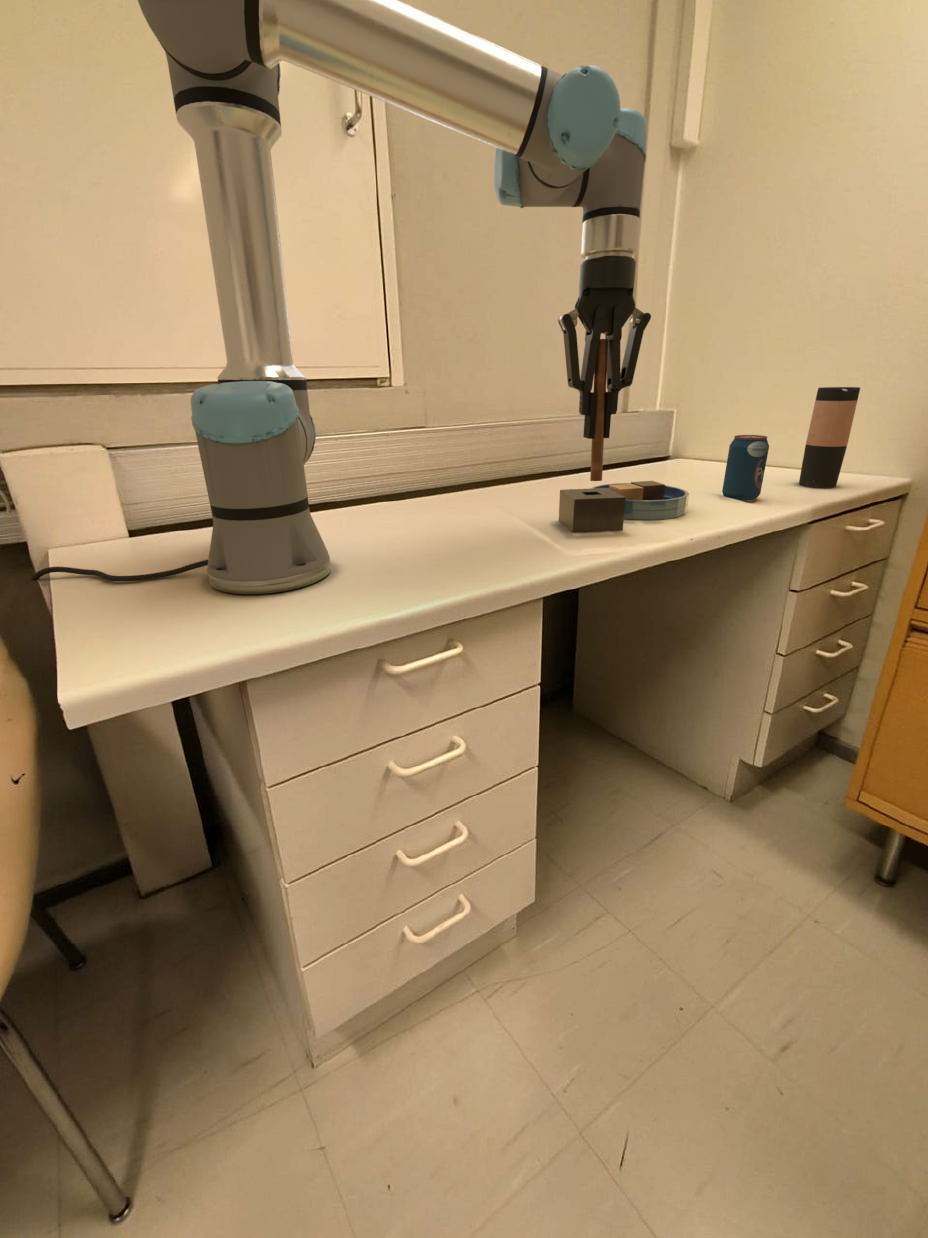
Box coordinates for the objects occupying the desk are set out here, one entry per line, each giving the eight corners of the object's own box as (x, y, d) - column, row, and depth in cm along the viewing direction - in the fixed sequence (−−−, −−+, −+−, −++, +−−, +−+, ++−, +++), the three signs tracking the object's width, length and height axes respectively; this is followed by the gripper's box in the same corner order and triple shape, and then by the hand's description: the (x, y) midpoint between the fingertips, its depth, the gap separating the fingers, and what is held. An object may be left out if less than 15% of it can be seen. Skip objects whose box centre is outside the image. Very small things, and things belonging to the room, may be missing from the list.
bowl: (606, 526, 94) (608, 502, 93) (575, 505, 110) (577, 484, 108) (703, 522, 96) (707, 498, 94) (660, 501, 112) (662, 481, 110)
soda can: (761, 503, 109) (774, 438, 104) (722, 501, 111) (733, 437, 106) (756, 496, 115) (767, 434, 110) (719, 494, 117) (729, 434, 112)
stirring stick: (591, 481, 87) (596, 339, 81) (589, 480, 89) (594, 340, 83) (602, 480, 87) (609, 338, 81) (601, 479, 89) (607, 340, 83)
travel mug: (805, 481, 129) (826, 386, 121) (842, 485, 124) (866, 386, 116) (791, 485, 125) (811, 387, 117) (829, 489, 119) (853, 387, 111)
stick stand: (572, 537, 89) (574, 499, 86) (558, 525, 96) (559, 489, 94) (622, 535, 89) (626, 497, 87) (604, 522, 97) (607, 487, 94)
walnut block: (640, 510, 101) (643, 486, 99) (628, 505, 105) (630, 482, 103) (662, 509, 102) (665, 484, 100) (649, 504, 106) (652, 480, 104)
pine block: (618, 514, 99) (620, 489, 97) (606, 509, 103) (608, 484, 101) (641, 512, 100) (643, 487, 98) (628, 507, 104) (631, 483, 102)
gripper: (648, 263, 82) (632, 433, 91) (548, 264, 80) (543, 436, 90) (671, 253, 75) (652, 438, 84) (563, 253, 73) (555, 441, 83)
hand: (596, 437), depth 87 cm, fingers closed on stirring stick, 2 cm apart
